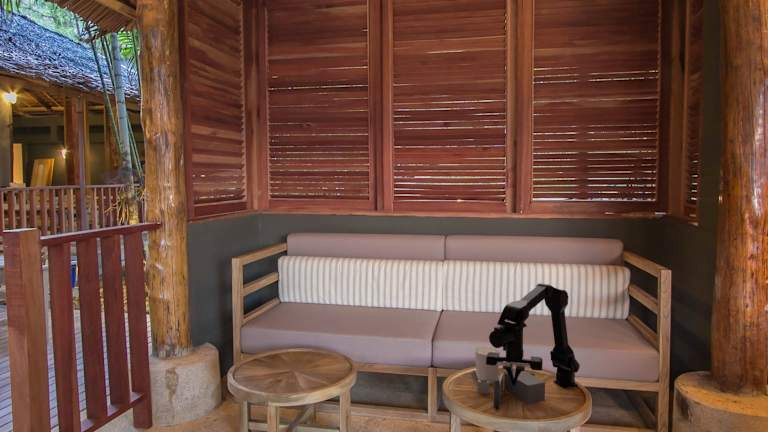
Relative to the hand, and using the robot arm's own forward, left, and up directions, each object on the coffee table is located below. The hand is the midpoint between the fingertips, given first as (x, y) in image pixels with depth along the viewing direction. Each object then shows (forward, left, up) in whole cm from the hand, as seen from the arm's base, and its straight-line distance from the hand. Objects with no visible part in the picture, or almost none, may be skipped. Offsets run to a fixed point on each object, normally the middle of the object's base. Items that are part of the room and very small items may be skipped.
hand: (513, 384), depth 181 cm
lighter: (+2, -18, -9) cm, 20 cm away
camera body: (-11, -8, -9) cm, 17 cm away
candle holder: (-7, -26, -9) cm, 28 cm away
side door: (-1, -9, -9) cm, 13 cm away
